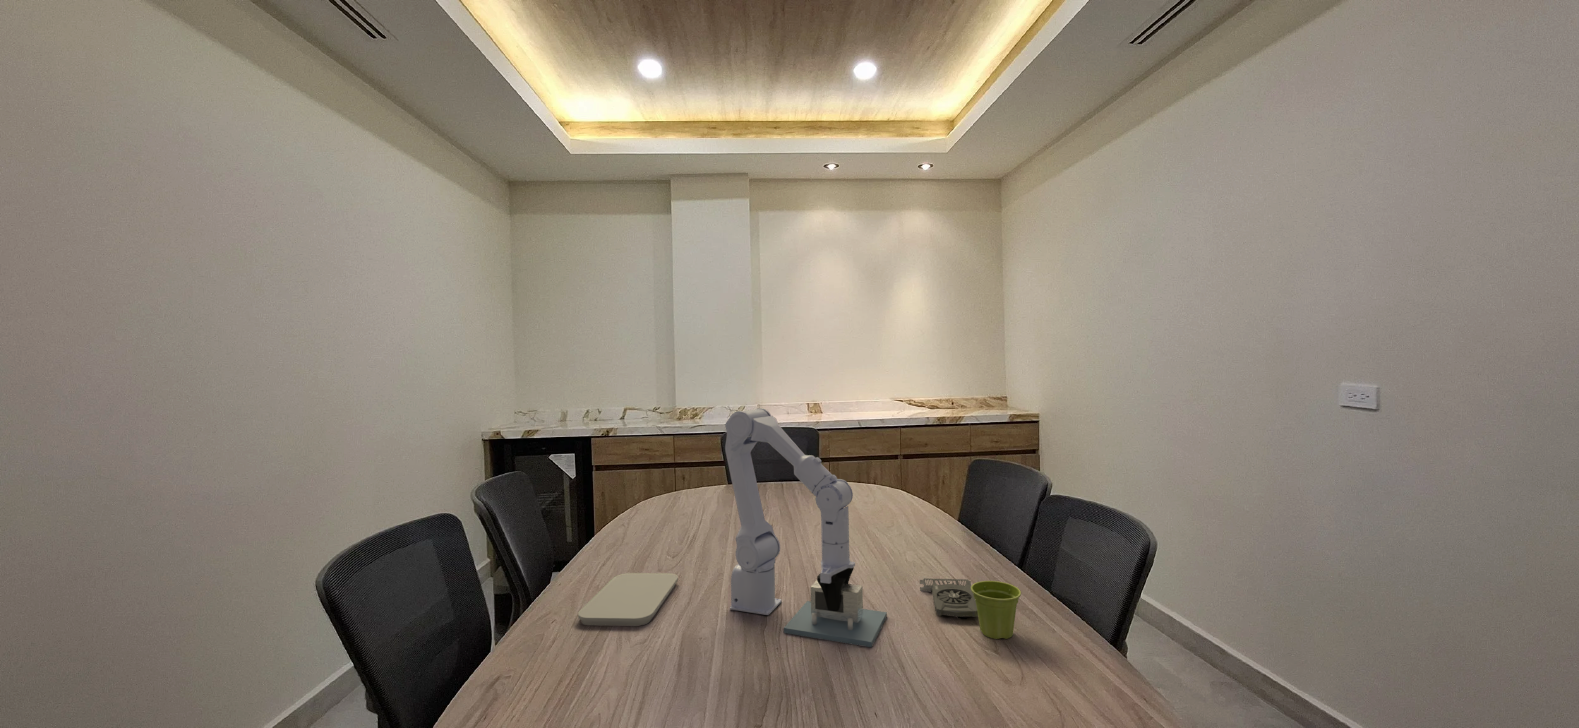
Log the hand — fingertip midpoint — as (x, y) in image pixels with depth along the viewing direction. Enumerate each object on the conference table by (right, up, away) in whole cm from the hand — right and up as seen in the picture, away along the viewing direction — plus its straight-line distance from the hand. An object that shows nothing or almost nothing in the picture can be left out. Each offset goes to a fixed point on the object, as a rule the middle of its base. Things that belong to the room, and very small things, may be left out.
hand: (836, 605), depth 120 cm
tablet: (-46, -5, +14) cm, 48 cm away
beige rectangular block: (0, -2, 0) cm, 2 cm away
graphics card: (+26, -4, +9) cm, 28 cm away
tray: (0, -4, 0) cm, 4 cm away
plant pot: (+31, -4, -5) cm, 32 cm away
